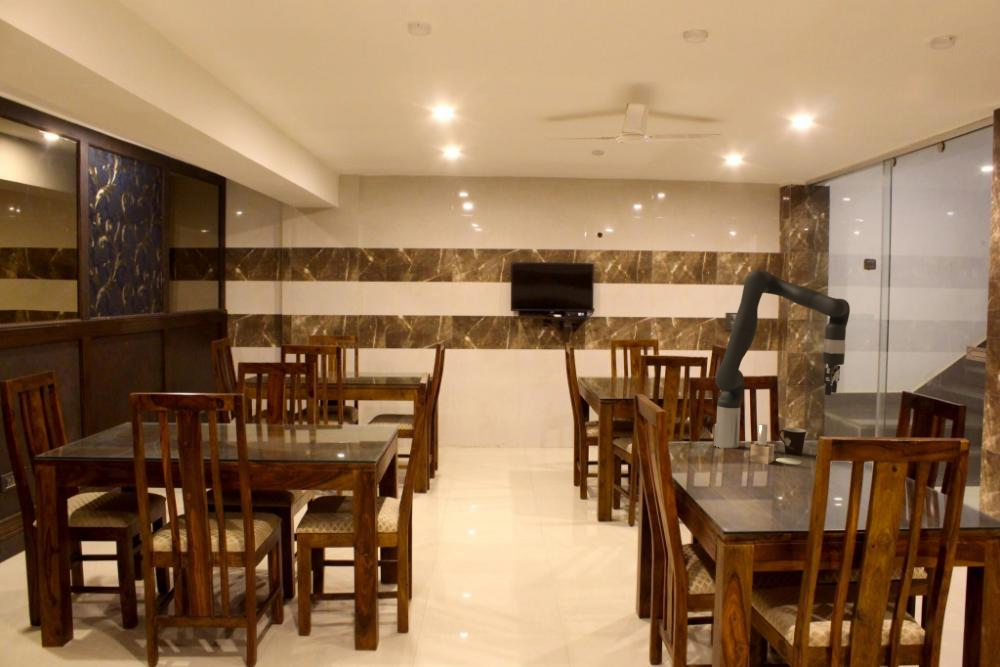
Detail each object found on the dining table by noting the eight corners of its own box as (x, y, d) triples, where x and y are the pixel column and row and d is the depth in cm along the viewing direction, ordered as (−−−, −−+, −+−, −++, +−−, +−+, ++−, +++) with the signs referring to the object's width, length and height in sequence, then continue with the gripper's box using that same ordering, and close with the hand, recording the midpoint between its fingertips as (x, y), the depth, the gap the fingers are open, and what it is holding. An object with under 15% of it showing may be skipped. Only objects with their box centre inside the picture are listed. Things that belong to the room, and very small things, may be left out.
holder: (749, 463, 274) (750, 445, 274) (755, 460, 279) (756, 442, 279) (767, 466, 270) (768, 447, 270) (773, 462, 275) (773, 445, 275)
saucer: (772, 463, 275) (773, 460, 275) (780, 459, 282) (780, 456, 282) (797, 467, 269) (797, 464, 269) (804, 463, 276) (804, 460, 276)
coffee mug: (808, 457, 287) (809, 432, 286) (786, 456, 287) (787, 431, 286) (796, 450, 298) (798, 426, 298) (776, 449, 298) (777, 426, 298)
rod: (756, 461, 275) (758, 424, 274) (758, 459, 277) (760, 423, 276) (764, 462, 273) (766, 425, 272) (766, 461, 275) (768, 424, 274)
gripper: (827, 349, 279) (824, 390, 280) (818, 351, 268) (815, 394, 269) (848, 351, 274) (845, 393, 276) (840, 353, 263) (836, 397, 264)
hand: (830, 393), depth 272 cm, fingers open, 8 cm apart
